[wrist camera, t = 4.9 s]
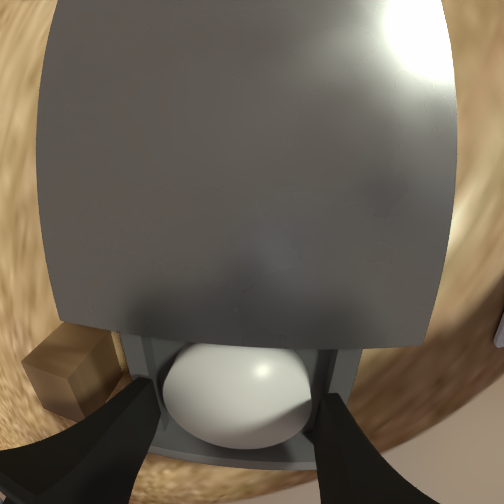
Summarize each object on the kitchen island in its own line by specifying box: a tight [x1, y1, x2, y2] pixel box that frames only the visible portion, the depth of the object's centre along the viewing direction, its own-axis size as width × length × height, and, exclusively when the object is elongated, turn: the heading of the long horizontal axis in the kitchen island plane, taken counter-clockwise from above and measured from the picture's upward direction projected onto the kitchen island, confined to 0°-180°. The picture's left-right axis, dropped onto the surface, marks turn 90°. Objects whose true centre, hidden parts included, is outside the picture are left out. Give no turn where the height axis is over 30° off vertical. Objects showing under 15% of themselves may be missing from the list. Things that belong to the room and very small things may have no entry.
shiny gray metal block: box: [36, 0, 457, 349], centre depth 8 cm, size 11×11×4 cm
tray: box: [120, 332, 363, 470], centre depth 10 cm, size 9×10×2 cm
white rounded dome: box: [163, 342, 312, 449], centre depth 11 cm, size 6×6×2 cm
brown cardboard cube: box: [21, 322, 122, 422], centre depth 11 cm, size 3×3×4 cm
